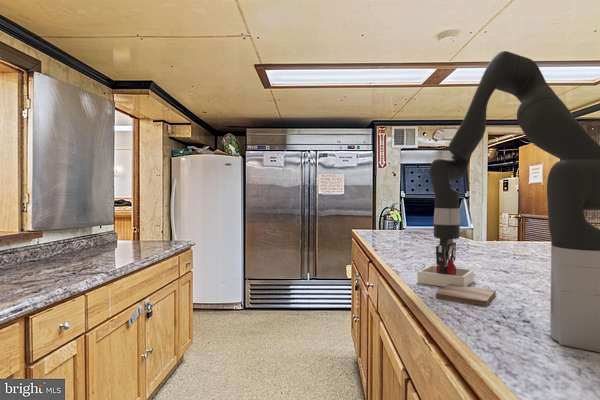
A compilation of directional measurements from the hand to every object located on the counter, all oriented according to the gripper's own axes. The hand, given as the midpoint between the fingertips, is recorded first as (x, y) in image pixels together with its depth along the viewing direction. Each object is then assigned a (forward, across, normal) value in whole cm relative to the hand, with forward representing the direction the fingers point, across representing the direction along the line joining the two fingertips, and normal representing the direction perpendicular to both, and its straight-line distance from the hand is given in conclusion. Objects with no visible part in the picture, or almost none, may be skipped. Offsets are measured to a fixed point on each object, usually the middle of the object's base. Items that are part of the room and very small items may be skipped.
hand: (446, 276), depth 116 cm
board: (+2, -14, -9) cm, 17 cm away
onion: (+2, 0, 0) cm, 2 cm away
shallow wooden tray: (+2, 0, 0) cm, 2 cm away
